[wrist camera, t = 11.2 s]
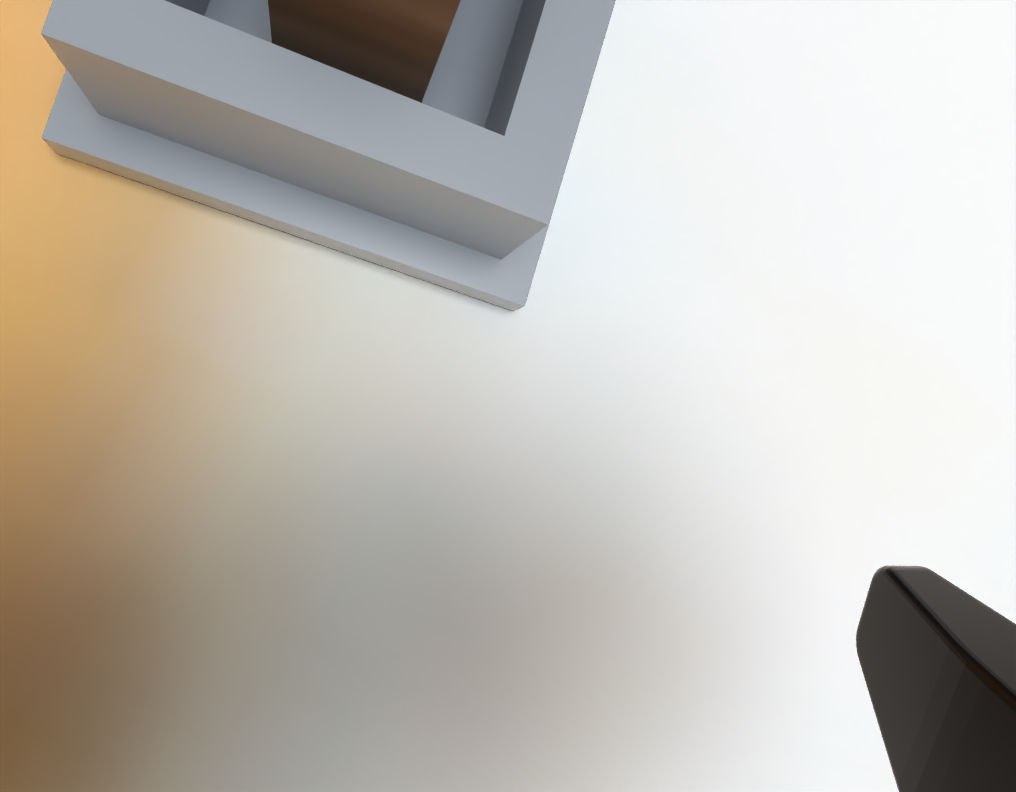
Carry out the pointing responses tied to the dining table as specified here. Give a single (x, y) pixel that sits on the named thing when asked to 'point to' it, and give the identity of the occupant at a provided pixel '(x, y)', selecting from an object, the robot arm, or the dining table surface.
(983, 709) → the robot arm
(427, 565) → the dining table surface
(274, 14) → the brown wooden block
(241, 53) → the end cap
